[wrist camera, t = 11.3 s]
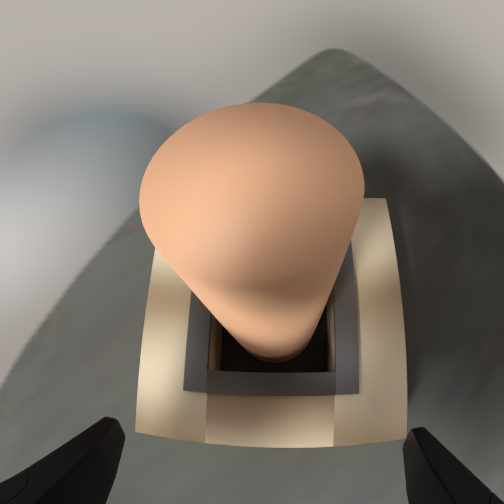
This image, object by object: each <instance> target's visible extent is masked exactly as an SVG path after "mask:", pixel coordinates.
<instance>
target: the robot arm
mask: <svg viewBox="0 0 504 504" xmlns="http://www.w3.org/2000/svg"><path fill="white" fill-rule="evenodd" d="M124 442H125V434H124V432H123V429H122V427H121V425H120V423H119V421H118V420H117V419H115V418H111V417H104V418H102V419H101V420H99V421H98V422H96V423H95V424H93V425H92V426H91V427H89V428H88V429H86V430H85V431H83V432H82V433H80V434H79V435H77V436H76V437H74V438H73V439H71V440H70V441H68V442H67V443H65V444H64V445H62V446H61V447H59V448H58V449H56V450H55V451H53V452H51V453H50V454H48V455H47V456H45V457H44V458H42V459H41V460H39V461H37V462H36V463H34V464H33V465H31V466H30V467H29V468H26V469H25V470H23V471H21V472H20V473H18V474H16V475H15V476H13V477H11V478H9V479H7V480H5V481H3V482H1V483H0V504H106V501H107V499H108V496H109V493H110V491H111V488H112V485H113V483H114V480H115V477H116V474H117V470H118V466H119V462H120V458H121V454H122V450H123V446H124ZM403 457H404V467H405V479H406V491H407V497H408V502H409V504H504V502H503V501H502V500H501V499H499V498H498V497H497V496H496V495H495V494H494V493H493V492H491V490H490V489H489V488H488V487H487V486H485V485H484V484H483V483H482V482H481V481H480V480H479V479H478V478H477V477H476V476H475V475H474V474H473V473H472V472H471V471H470V470H469V469H467V468H466V467H465V466H464V465H463V464H462V463H461V462H460V461H459V460H458V459H457V458H456V457H455V456H454V455H453V454H452V453H451V452H450V451H448V450H447V449H446V448H445V447H444V446H443V445H442V444H441V443H440V442H439V441H438V440H437V439H436V438H435V437H434V436H433V435H432V434H431V433H430V432H429V431H427V430H426V429H425V428H424V427H419V428H413V429H411V430H410V431H409V434H408V436H407V438H406V440H405V442H404V445H403Z"/></svg>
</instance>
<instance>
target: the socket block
mask: <svg viewBox="0 0 504 504" xmlns="http://www.w3.org/2000/svg"><path fill="white" fill-rule="evenodd" d="M326 306H327V354H328V372H316V373H260V372H232V371H220V364H221V347H222V331H223V325H222V324H221V323H220V322H219V321H218V320H217V318H216V317H215V316H214V315H213V314H212V313H211V312H210V311H209V310H208V308H207V307H206V306H205V305H204V304H203V303H202V302H201V300H200V299H199V298H198V297H197V296H196V295H195V294H194V292H193V291H192V290H191V289H190V288H189V287H188V286H187V284H186V283H185V282H184V281H183V280H182V279H181V277H180V276H179V275H178V274H177V273H176V271H175V270H174V269H173V268H172V267H171V266H170V264H169V263H168V262H167V261H166V260H165V258H164V257H163V256H162V255H161V253H160V252H159V251H158V250H157V249H155V254H154V260H153V266H152V273H151V279H150V285H149V292H148V299H147V306H146V314H145V322H144V330H143V339H142V348H141V358H140V369H139V380H138V393H137V409H136V429H135V432H139V433H144V434H150V435H155V436H161V437H167V438H173V439H179V440H186V441H194V442H202V443H211V444H221V445H233V446H248V447H275V448H306V447H332V446H347V445H359V444H369V443H378V442H386V441H393V440H400V439H406V435H407V364H406V344H405V329H404V317H403V306H402V297H401V288H400V280H399V272H398V265H397V258H396V252H395V245H394V239H393V233H392V228H391V222H390V217H389V212H388V207H387V202H386V198H364V199H363V204H362V208H361V212H360V215H359V218H358V221H357V224H356V226H355V229H354V232H353V235H352V238H351V240H350V243H349V246H348V249H347V251H346V254H345V257H344V259H343V262H342V265H341V267H340V270H339V273H338V275H337V278H336V280H335V283H334V285H333V288H332V290H331V293H330V295H329V298H328V300H327V303H326Z"/></svg>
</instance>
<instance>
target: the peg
mask: <svg viewBox="0 0 504 504" xmlns="http://www.w3.org/2000/svg"><path fill="white" fill-rule="evenodd" d="M364 190H365V189H364V176H363V172H362V167H361V164H360V162H359V159H358V157H357V155H356V153H355V151H354V149H353V148H352V146H351V145H350V143H349V142H348V141H347V140H346V138H345V137H344V136H343V135H342V134H341V133H340V132H339V131H338V130H337V129H336V128H334V127H333V126H332V125H330V124H329V123H328V122H326V121H325V120H323V119H321V118H319V117H318V116H316V115H314V114H311V113H309V112H307V111H304V110H301V109H298V108H295V107H291V106H286V105H282V104H273V103H246V104H239V105H233V106H229V107H225V108H221V109H218V110H215V111H212V112H210V113H207V114H205V115H202V116H200V117H198V118H196V119H195V120H193V121H191V122H189V123H188V124H186V125H185V126H183V127H182V128H180V129H179V130H178V131H176V132H175V133H174V134H173V135H172V136H171V137H169V138H168V139H167V140H166V142H165V143H164V144H163V145H162V146H161V147H160V148H159V150H158V151H157V152H156V154H155V155H154V156H153V158H152V160H151V162H150V163H149V165H148V167H147V170H146V172H145V175H144V178H143V181H142V185H141V189H140V199H139V203H140V214H141V218H142V223H143V225H144V228H145V230H146V233H147V235H148V237H149V238H150V240H151V242H152V243H153V245H154V246H155V247H156V249H157V250H158V251H159V252H160V253H161V255H162V256H163V257H164V258H165V260H166V261H167V262H168V263H169V264H170V266H171V267H172V268H173V269H174V270H175V271H176V273H177V274H178V275H179V276H180V277H181V279H182V280H183V281H184V282H185V283H186V284H187V286H188V287H189V288H190V289H191V290H192V291H193V292H194V294H195V295H196V296H197V297H198V298H199V299H200V300H201V302H202V303H203V304H204V305H205V306H206V307H207V308H208V310H209V311H210V312H211V313H212V314H213V315H214V316H215V317H216V318H217V320H218V321H219V322H220V323H221V324H222V325H223V326H224V327H225V328H226V329H227V331H228V332H229V333H230V334H231V335H232V336H233V337H234V338H235V339H236V340H237V341H238V342H239V344H240V345H241V346H242V347H243V348H244V349H245V350H246V351H247V352H248V353H249V354H250V355H252V356H253V357H255V358H256V359H259V360H261V361H264V362H269V363H280V362H285V361H288V360H291V359H293V358H295V357H296V356H298V355H299V354H300V353H302V352H303V351H304V350H305V348H306V347H307V346H308V344H309V342H310V340H311V338H312V336H313V334H314V331H315V329H316V327H317V324H318V322H319V320H320V317H321V315H322V312H323V310H324V308H325V305H326V303H327V300H328V298H329V295H330V293H331V290H332V288H333V285H334V283H335V280H336V278H337V275H338V273H339V270H340V267H341V265H342V262H343V259H344V257H345V254H346V251H347V249H348V246H349V243H350V240H351V238H352V235H353V232H354V229H355V226H356V224H357V221H358V218H359V215H360V212H361V208H362V204H363V199H364Z"/></svg>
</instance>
